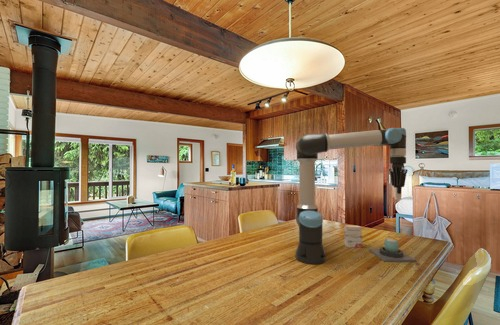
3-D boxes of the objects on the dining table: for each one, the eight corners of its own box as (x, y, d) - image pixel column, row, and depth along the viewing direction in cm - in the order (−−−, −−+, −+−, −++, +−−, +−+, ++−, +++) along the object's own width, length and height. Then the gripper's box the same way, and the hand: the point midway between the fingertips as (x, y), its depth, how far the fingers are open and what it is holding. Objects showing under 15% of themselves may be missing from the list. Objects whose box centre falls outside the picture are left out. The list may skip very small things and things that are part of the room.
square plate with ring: (384, 261, 122) (384, 255, 122) (368, 250, 138) (368, 245, 138) (416, 261, 122) (416, 255, 122) (396, 250, 138) (396, 245, 138)
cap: (388, 256, 127) (388, 242, 127) (382, 251, 133) (382, 238, 133) (401, 256, 127) (401, 242, 127) (394, 251, 133) (394, 238, 133)
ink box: (358, 245, 147) (358, 225, 147) (361, 247, 142) (361, 227, 142) (344, 244, 148) (344, 224, 148) (346, 247, 143) (346, 226, 143)
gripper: (412, 156, 128) (412, 201, 128) (397, 156, 141) (397, 197, 141) (398, 156, 128) (398, 201, 128) (384, 156, 141) (384, 197, 141)
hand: (397, 199), depth 134 cm, fingers closed
